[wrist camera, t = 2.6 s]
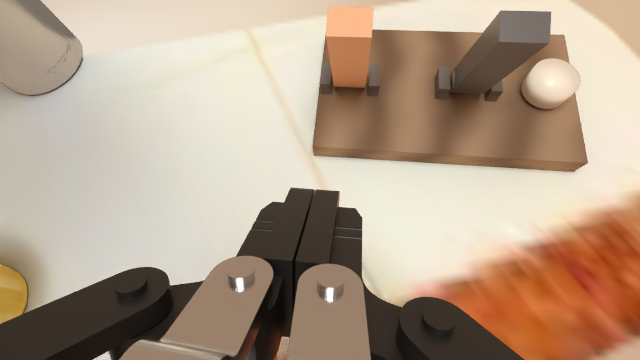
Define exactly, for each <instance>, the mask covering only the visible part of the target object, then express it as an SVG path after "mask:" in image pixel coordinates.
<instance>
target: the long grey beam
mask: <svg viewBox="0 0 640 360" xmlns="http://www.w3.org/2000/svg"><path fill="white" fill-rule="evenodd" d="M550 24H551V12H539V11H500V12H499V14H498V15H497V16H496V17H495V19H494V20H493V21H492V22H491V24H490V25H489V26H488V27H487V28H486V30H485V31H484V32H483V33H482V35H481V36H480V37H479V38H478V40H477V41H476V42H475V43H474V45H473V46H472V47H471V48H470V50H469V51H468V52H467V53H466V54H465V56H464V57H463V58H462V59H461V61H460V62H459V63H458V64H457V66H456V67H455V68H454V69H453V71H452V72H451V75H450V87H451V89H450V92H458V93H481V94H484V93H486V92H487V91H488V90H489V89H491V88H492V87H493V86H495V85H496V84H497V83H499V82H500V81H501V80H502V79H504V78H505V77H506V76H508V75H509V74H510V73H512V72H513V71H514V70H515V69H517V68H518V67H519V66H521V65H522V64H523V63H525V62H526V61H527V60H528V59H530V58H531V57H532V56H534V55H535V54H536V53H538V52H539V51H540V50H541V49H543V48H544V47H545V46H547V45H548V44H549V43H550Z"/></svg>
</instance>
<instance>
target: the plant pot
mask: <svg viewBox="0 0 640 360" xmlns="http://www.w3.org/2000/svg"><path fill="white" fill-rule="evenodd" d="M27 293H28V292H27V285H26V282H25V280H24V278H23V277H22V275H21V274H20V273H18V272H17V271H15V270H13V269H11V268H8V267H6V266H3V265H1V264H0V324H1V323H3V322H6V321H8V320H10V319H13V318H15V317H17V316H20V315H22V314H23V312H24V309H25V306H26V302H27Z"/></svg>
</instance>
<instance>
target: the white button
mask: <svg viewBox="0 0 640 360" xmlns="http://www.w3.org/2000/svg"><path fill="white" fill-rule="evenodd" d="M580 82H581V79H580V75H579V73H578V71H577V70H576V69H575V68H574V67H573V66H572V65H571V64H569V63H568V62H566V61H563V60H560V59H554V58H549V59H544V60H541V61H540V62H538V63H537V64H536V65H535V66H534V67H533V69H532V70H531V71H530V72H529V74H528V75H527V76H526V77H525V79H524V80H523V82H522V84H521V91H522V94H523V96H524V98H525V99H526V100H527V101H528V102H529V103H530V104H532V105H534V106H536V107H539V108H542V109H553V108H556V107H559V106H560V105H562V104H563V103H564V102H565V101H566V100H567V99H568V98H569V97H570V96H571V95H572V94H573V93H574V92H576V91H577V89H578V88H579V86H580Z"/></svg>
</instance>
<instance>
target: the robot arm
mask: <svg viewBox="0 0 640 360" xmlns="http://www.w3.org/2000/svg"><path fill="white" fill-rule="evenodd" d="M82 52H83V51H82V45H81V43H80V41H79V40H78V39H77V38H76V37H75V36H74V35H73V33H71V32H70V30H68V28H67V27H66V26H65V25H64V24H63V23H62V22H61V21H60V20H59V19H58V18H57V17H56V16H55V15H54V14H53V13H52V12H51V11H50V10H49V9H48V8H47V7H46V6H45V5H44V4H43V3H42V2H41V1H40V0H0V82H1V83H3V84H5V85H6V86H8V87H9V88H11V89H12V90H14V91H15V92H18V93H20V94H25V95H36V94H42V93H45V92H48V91H51V90H53V89H55V88H57V87H59V86H60V85H62V84H63V83H64V82H66V81H67V80H68V79H69V78H70V77H71V76H72V75H73V74H74V73H75V71H76V70H77V68H78V66H79V65H80V62H81V59H82ZM282 336H285V337H290V341H289V348H288V355H287V360H524V359H523V358H522V357H520V356H519V355H518V354H517V353H515V352H514V351H513V350H512V349H510V348H509V347H508V346H507V345H505V344H504V343H503V342H501V341H500V340H499V339H498V338H496V337H495V336H494V335H493V334H491V333H490V332H489V331H488V330H486V329H485V328H484V327H483V326H481V325H480V324H479V323H478V322H476V321H475V320H474V319H473V318H471V317H470V316H469V315H467V314H466V313H465V312H464V311H462V310H461V309H460V308H458V307H457V306H455V305H453V304H452V303H449V302H447V301H445V300H442V299H438V298H433V297H419V298H415V299H412V300H410V301H409V302H407V303H406V304H405V305H404V306H403V307H399V306H396V305H393V304H391V303H388V302H386V301H383V300H381V299H380V298H378V297H376V296H375V295H374V294H372V293H371V292H370V291H369V290H368V289H367V287H366V286H365V284H364V282H363V280H362V217H361V216H360V214H359V213H358V212H357V210H356V209H355V208H343V207H339V191H328V190H316V191H315V190H314V189H301V188H290V191H289V193H288V195H287V197H286V200H285V202H284V203H281V202H272V203H270V204H269V205H267V206H266V207H265V208H263V209H262V210H261V211H260V213H259V215H258V217H257V219H256V221H255V222H254V224H253V226H252V229H251V230H250V232H249V234H248V235H247V237H246V239H245V241H244V243H243V245H242V246H241V248H240V250H239V252H238V254H237V256H236V257H233V258H230V259H227V260H225V261H223V262H221V263H220V264H218V265H217V266H216V267H214V269H213V270H212V271H211V272H210V274H209V275H208V276H207V278H206V279H205V280H204V281H201V282H195V283H188V284H180V285H172V286H170V283H169V279H168V276H167V274H166V273H165V272H164V271H162V270H160V269H157V268H152V267H140V268H134V269H130V270H127V271H124V272H121V273H119V274H116V275H114V276H112V277H109V278H107V279H105V280H102V281H100V282H97V283H95V284H93V285H90V286H88V287H86V288H83V289H81V290H79V291H76V292H74V293H72V294H69V295H67V296H64V297H62V298H60V299H57V300H55V301H53V302H50V303H48V304H46V305H43V306H41V307H39V308H36V309H34V310H31V311H29V312H27V313H24V314H22V315H20V316H17V317H15V318H13V319H10V320H8V321H6V322H3V323H1V324H0V360H93V359H94V358H96V357H98V356H100V355H102V354H103V353H105V352H107V351H109V354H110V357H111V360H277V357H276V355H277V352H278V349H279V345H280V341H281V337H282Z"/></svg>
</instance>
